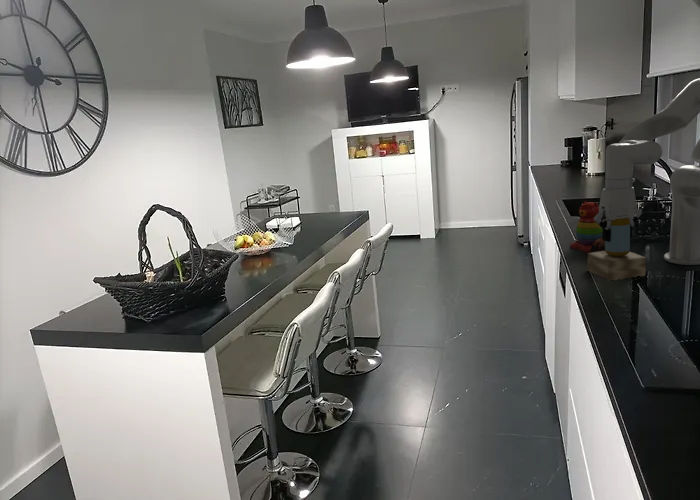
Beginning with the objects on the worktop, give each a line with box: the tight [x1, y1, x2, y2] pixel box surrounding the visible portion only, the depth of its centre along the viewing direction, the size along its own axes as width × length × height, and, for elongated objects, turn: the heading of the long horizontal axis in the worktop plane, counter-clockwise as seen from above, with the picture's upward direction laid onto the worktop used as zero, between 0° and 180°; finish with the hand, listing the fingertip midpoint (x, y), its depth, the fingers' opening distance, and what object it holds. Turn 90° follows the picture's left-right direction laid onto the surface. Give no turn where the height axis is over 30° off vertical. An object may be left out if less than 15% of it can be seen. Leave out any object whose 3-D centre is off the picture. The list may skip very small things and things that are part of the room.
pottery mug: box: [590, 237, 605, 253], centre depth 187 cm, size 12×10×8 cm
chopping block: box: [586, 251, 647, 281], centre depth 170 cm, size 12×12×6 cm
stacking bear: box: [569, 201, 603, 254], centre depth 198 cm, size 11×10×18 cm
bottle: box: [605, 208, 631, 256], centre depth 167 cm, size 7×7×15 cm
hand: (617, 238), depth 168 cm, fingers open, 6 cm apart
